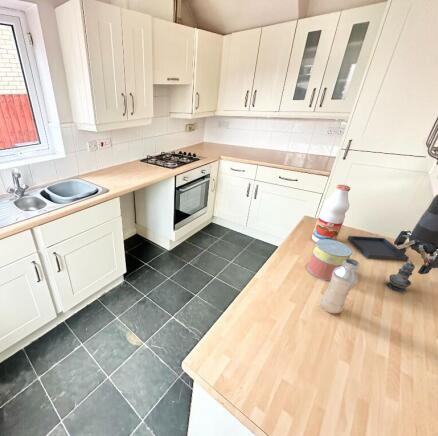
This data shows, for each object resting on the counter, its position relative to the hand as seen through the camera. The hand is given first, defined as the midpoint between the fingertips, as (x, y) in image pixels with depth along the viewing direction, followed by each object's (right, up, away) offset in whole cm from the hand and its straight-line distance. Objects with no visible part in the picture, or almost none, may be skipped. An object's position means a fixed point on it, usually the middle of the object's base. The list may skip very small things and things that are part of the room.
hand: (409, 265), depth 85 cm
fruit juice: (-7, +6, +33) cm, 34 cm away
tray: (+12, +2, +25) cm, 28 cm away
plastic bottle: (-31, -14, -3) cm, 34 cm away
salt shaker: (0, -9, +5) cm, 11 cm away
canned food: (-21, -5, +13) cm, 25 cm away
